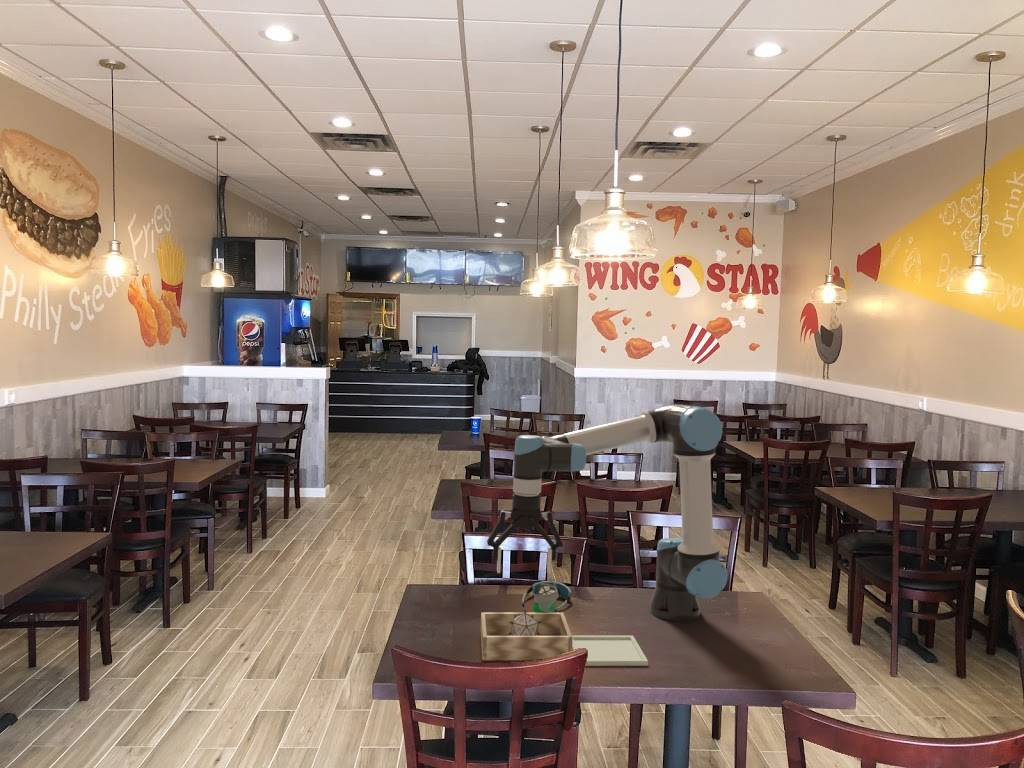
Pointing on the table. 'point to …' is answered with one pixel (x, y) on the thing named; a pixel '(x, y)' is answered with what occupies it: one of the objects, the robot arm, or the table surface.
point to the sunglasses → (561, 588)
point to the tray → (610, 650)
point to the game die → (524, 625)
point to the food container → (545, 599)
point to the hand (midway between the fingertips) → (523, 572)
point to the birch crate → (523, 637)
